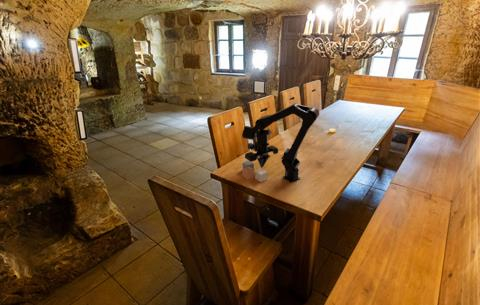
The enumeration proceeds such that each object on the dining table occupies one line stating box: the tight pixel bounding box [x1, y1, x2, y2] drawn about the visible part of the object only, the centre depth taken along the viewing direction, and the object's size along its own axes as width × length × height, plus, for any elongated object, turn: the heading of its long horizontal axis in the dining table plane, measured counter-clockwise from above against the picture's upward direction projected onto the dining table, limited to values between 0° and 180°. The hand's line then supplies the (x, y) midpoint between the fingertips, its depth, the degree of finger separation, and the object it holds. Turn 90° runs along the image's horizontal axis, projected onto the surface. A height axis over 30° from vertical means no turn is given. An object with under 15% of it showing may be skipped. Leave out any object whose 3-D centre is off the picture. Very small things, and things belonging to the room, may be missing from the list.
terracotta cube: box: [241, 167, 255, 181], centre depth 137 cm, size 4×4×4 cm
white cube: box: [254, 168, 268, 183], centre depth 135 cm, size 4×4×4 cm
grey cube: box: [242, 160, 255, 170], centre depth 144 cm, size 4×4×4 cm
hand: (261, 167), depth 142 cm, fingers closed
